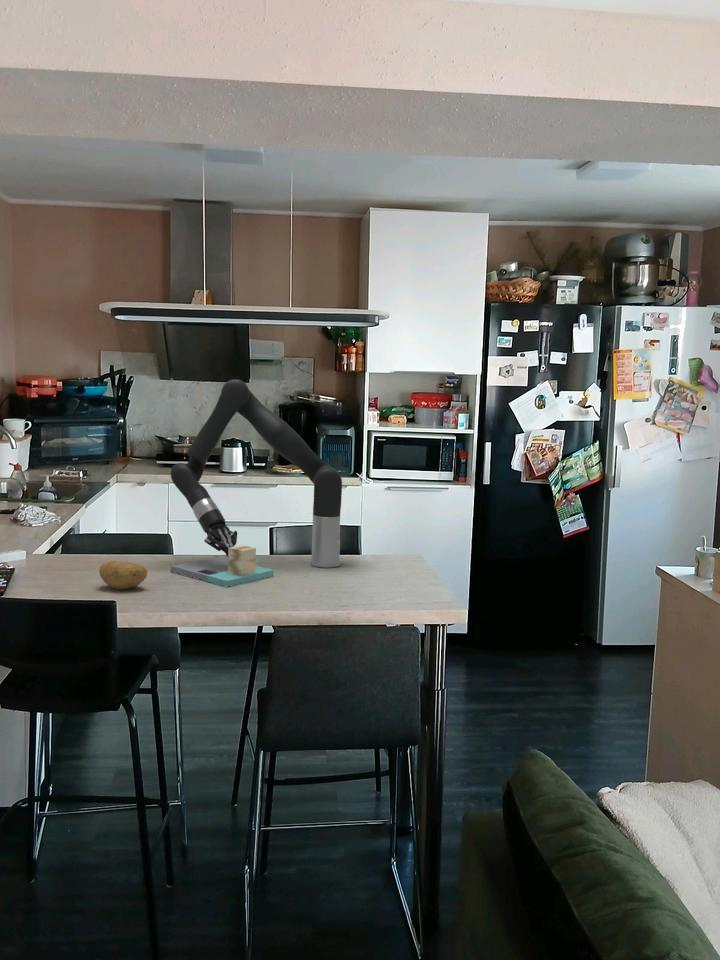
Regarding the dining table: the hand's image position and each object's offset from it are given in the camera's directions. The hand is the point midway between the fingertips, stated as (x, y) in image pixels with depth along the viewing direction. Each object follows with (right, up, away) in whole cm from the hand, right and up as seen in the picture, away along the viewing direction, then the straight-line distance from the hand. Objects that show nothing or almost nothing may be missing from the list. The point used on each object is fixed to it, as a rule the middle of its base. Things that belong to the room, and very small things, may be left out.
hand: (234, 559), depth 273 cm
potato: (-30, -7, -17) cm, 35 cm away
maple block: (+3, -4, -2) cm, 5 cm away
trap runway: (-4, -5, +4) cm, 8 cm away
